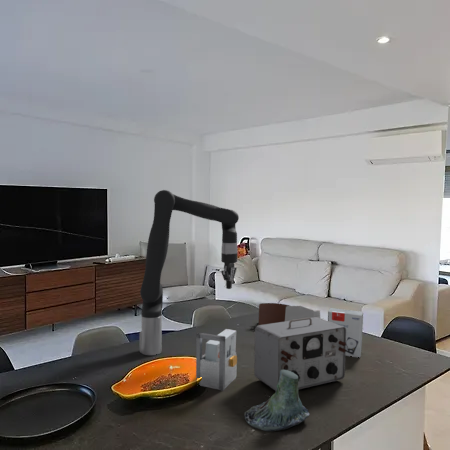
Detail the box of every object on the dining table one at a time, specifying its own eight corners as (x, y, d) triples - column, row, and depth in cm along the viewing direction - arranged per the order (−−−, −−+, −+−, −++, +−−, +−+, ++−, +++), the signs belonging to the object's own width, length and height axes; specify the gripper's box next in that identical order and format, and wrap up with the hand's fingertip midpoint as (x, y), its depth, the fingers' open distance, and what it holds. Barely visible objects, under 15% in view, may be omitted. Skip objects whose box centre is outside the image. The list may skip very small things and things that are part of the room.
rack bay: (196, 384, 164) (196, 333, 163) (211, 372, 176) (212, 324, 175) (224, 391, 159) (225, 338, 158) (238, 377, 171) (239, 328, 170)
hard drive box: (326, 353, 200) (327, 311, 199) (328, 348, 207) (329, 307, 206) (360, 358, 194) (362, 314, 193) (362, 352, 201) (363, 310, 200)
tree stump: (244, 403, 150) (258, 354, 150) (300, 421, 148) (314, 371, 148) (241, 428, 132) (256, 373, 131) (305, 449, 130) (320, 392, 129)
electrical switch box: (321, 346, 216) (324, 306, 218) (311, 350, 204) (314, 307, 205) (294, 340, 224) (297, 302, 226) (282, 344, 212) (286, 303, 213)
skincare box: (216, 385, 164) (216, 344, 163) (203, 383, 166) (203, 342, 165) (236, 366, 183) (236, 329, 182) (224, 364, 185) (224, 328, 184)
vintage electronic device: (280, 400, 152) (282, 331, 151) (254, 381, 168) (255, 318, 167) (348, 383, 167) (350, 320, 165) (317, 367, 183) (319, 309, 181)
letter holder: (293, 330, 236) (294, 305, 235) (258, 326, 241) (258, 302, 241) (295, 325, 245) (296, 301, 244) (261, 322, 251) (262, 298, 250)
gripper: (227, 250, 209) (227, 285, 210) (216, 253, 197) (215, 290, 198) (242, 251, 206) (241, 286, 207) (231, 254, 194) (230, 292, 195)
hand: (228, 288), depth 203 cm, fingers closed
